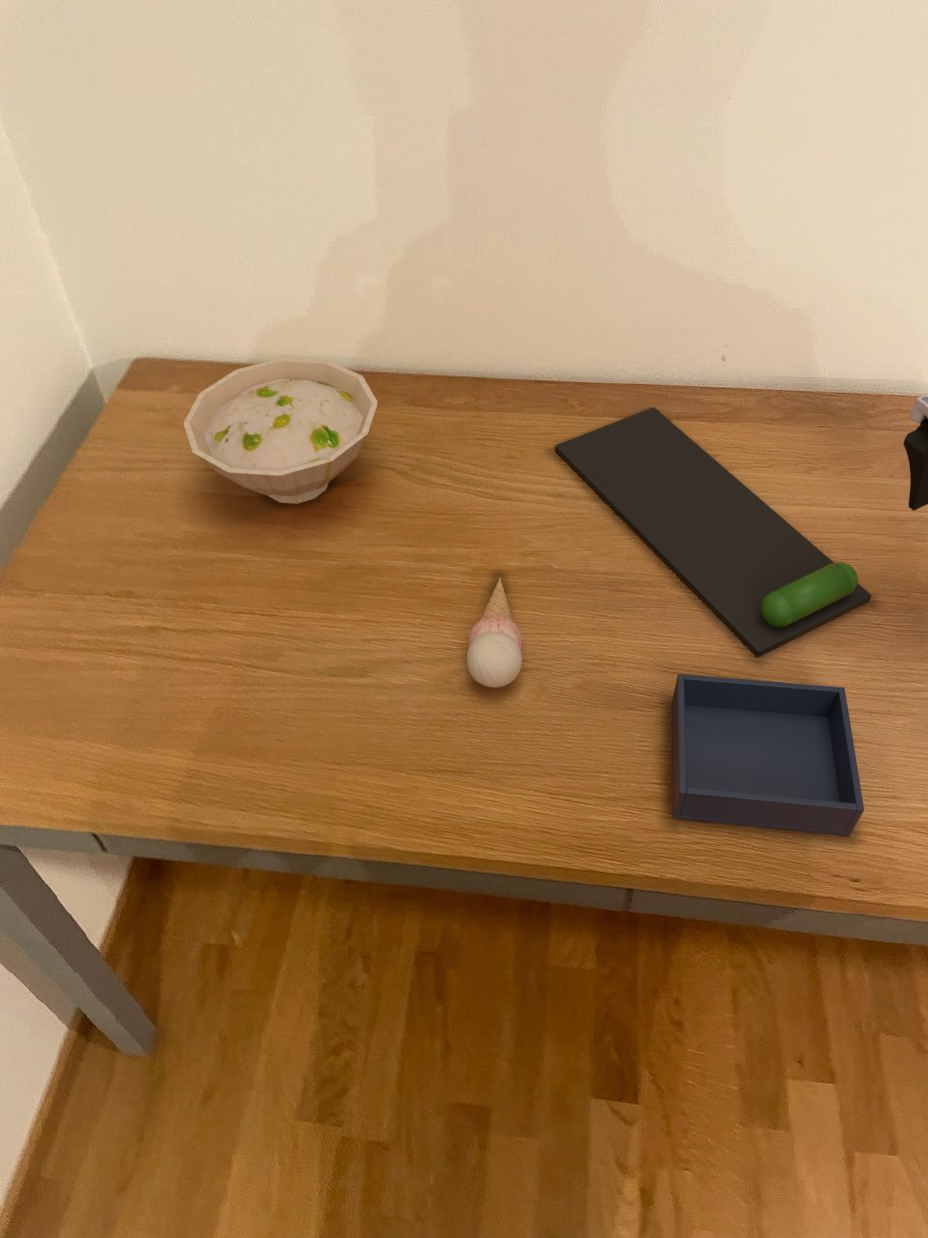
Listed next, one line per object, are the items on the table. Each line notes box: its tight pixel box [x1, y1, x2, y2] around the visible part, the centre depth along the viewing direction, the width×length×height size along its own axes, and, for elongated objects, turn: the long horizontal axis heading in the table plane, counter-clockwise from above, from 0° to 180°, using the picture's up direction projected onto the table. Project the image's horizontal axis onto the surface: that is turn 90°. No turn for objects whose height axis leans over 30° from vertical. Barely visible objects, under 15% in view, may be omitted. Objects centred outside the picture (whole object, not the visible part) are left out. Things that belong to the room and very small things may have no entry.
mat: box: [554, 406, 872, 658], centre depth 92 cm, size 33×13×1 cm, turn 29°
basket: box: [671, 673, 865, 837], centre depth 72 cm, size 13×11×4 cm
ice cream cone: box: [465, 577, 524, 688], centre depth 82 cm, size 5×5×15 cm
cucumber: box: [760, 561, 859, 627], centre depth 82 cm, size 10×3×3 cm, turn 119°
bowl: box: [182, 357, 379, 505], centre depth 95 cm, size 19×19×10 cm
